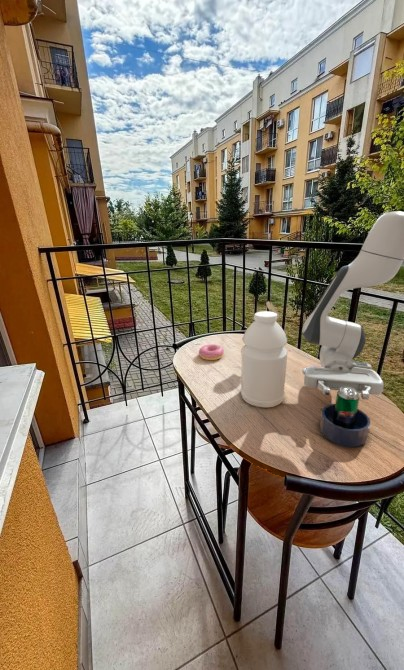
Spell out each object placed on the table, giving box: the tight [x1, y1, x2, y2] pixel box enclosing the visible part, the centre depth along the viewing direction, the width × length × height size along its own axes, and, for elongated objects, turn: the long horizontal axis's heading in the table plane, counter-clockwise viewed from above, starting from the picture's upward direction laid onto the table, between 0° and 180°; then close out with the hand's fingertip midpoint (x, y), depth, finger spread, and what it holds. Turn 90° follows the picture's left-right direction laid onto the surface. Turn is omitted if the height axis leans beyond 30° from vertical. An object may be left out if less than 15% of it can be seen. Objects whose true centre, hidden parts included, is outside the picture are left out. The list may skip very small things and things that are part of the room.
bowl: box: [319, 403, 371, 448], centre depth 73 cm, size 11×11×5 cm
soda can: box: [333, 387, 361, 429], centre depth 72 cm, size 5×5×12 cm
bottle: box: [240, 310, 289, 408], centre depth 87 cm, size 14×14×28 cm
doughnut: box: [198, 343, 225, 361], centre depth 121 cm, size 11×11×4 cm
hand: (345, 394), depth 74 cm, fingers open, 8 cm apart
